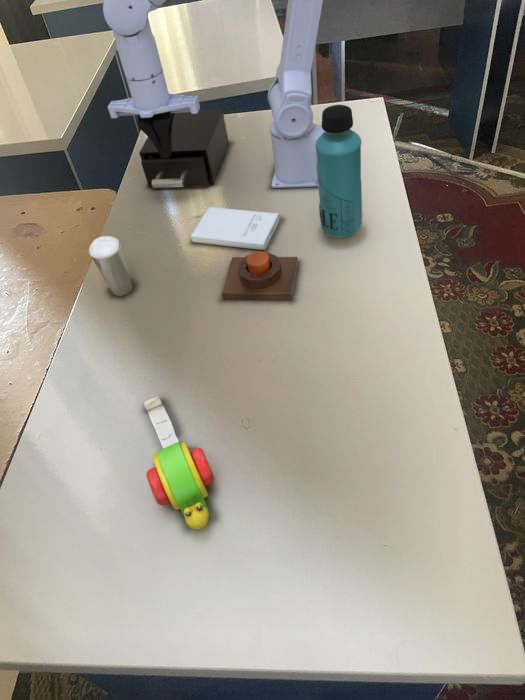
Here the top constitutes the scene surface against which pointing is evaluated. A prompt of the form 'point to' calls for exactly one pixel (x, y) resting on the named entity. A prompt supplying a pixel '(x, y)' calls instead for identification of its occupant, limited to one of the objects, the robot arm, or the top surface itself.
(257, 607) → the top surface
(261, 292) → the control block
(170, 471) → the toy measuring tape
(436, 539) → the top surface
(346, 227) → the beverage bottle
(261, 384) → the top surface
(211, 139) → the small drawer cabinet
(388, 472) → the top surface
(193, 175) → the black drawer
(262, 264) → the release button
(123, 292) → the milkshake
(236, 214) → the hard drive
